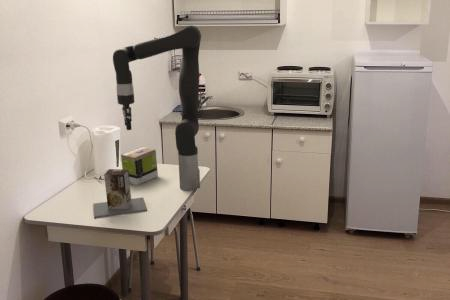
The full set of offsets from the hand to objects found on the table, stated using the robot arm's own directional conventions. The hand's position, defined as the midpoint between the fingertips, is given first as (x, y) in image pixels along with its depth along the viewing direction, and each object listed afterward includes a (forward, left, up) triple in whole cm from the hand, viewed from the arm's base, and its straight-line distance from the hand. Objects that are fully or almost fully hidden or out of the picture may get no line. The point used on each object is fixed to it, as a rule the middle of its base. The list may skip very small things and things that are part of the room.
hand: (128, 127), depth 225 cm
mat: (+8, +22, -30) cm, 38 cm away
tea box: (-5, -11, -30) cm, 33 cm away
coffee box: (+8, +22, -30) cm, 38 cm away
